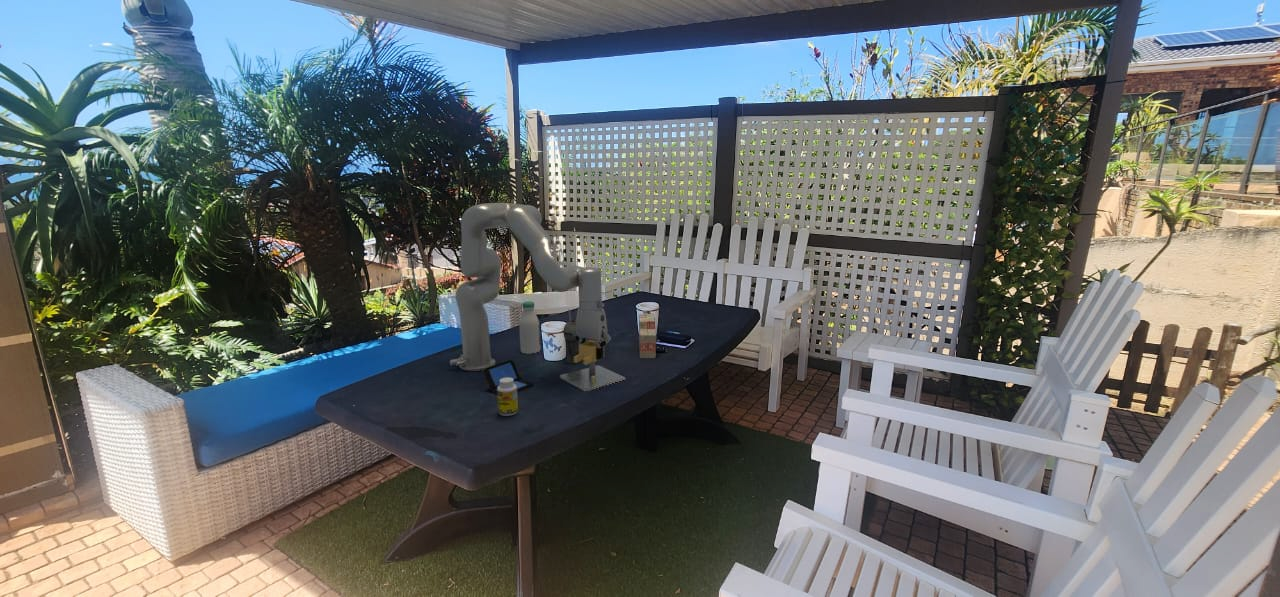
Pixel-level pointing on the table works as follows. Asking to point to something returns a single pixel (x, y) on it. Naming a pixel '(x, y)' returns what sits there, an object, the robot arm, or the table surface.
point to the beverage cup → (570, 340)
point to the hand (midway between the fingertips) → (591, 356)
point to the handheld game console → (505, 376)
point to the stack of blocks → (647, 336)
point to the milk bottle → (529, 329)
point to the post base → (584, 377)
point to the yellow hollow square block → (587, 352)
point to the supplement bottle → (507, 397)
